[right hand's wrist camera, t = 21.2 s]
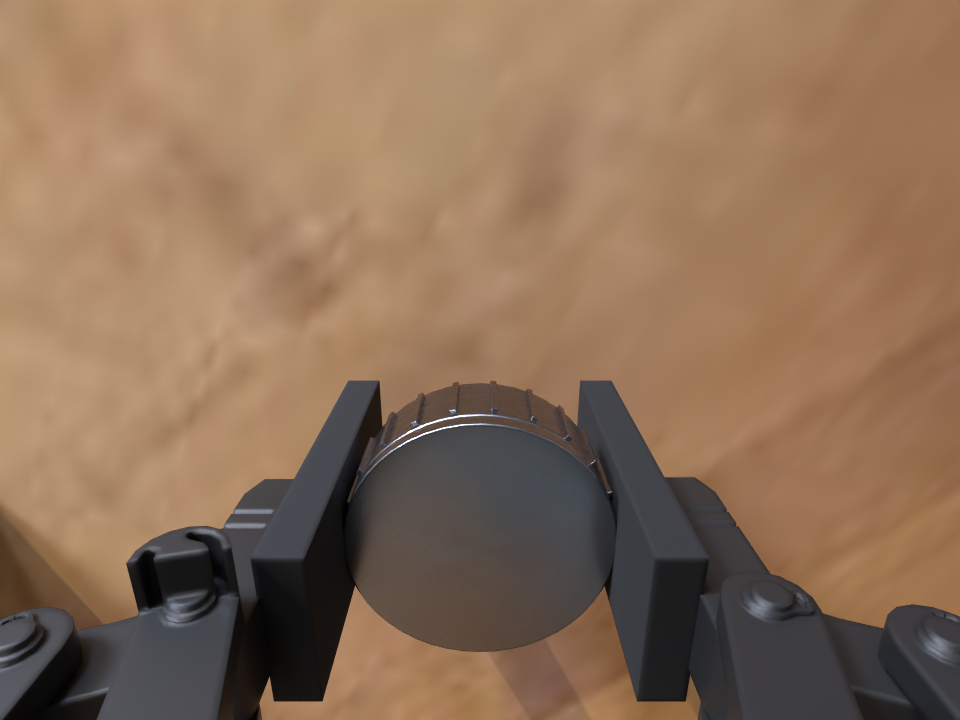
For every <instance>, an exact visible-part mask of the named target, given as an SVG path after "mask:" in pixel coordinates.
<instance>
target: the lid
mask: <svg viewBox="0 0 960 720" xmlns="http://www.w3.org/2000/svg"><path fill="white" fill-rule="evenodd" d="M356 474H357V476H356V479H355V481H354V484H353V487H352V489H351V492H350V495H349V498H348V500H347V507H348V508H347V511H346V514H345V520H344V527H343V537H344V548H345V557H346V563H347V566H348V569H349V572H350V575H351V577H352V579H353V581H354V583H355V585H356V587H357V589H358V591H359V592H360V593H361V595H362V596H363V598H364V599H365V601H366V602H367V603H368V604H369V605H370V606H371V607H372V608H373V609H374V611H375V612H376V613H377V614H379V615H380V616H381V617H382V618H383V619H385V620H386V621H387V622H388V623H390V624H391V625H393V626H394V627H396V628H397V629H399V630H400V631H402V632H404V633H406V634H408V635H410V636H412V637H413V638H415V639H418V640H421V641H423V642H426V643H429V644H431V645H435V646H439V647H443V648H447V649H453V650H459V651H472V652H488V651H500V650H507V649H513V648H517V647H521V646H525V645H529V644H531V643H534V642H537V641H539V640H542V639H544V638H546V637H548V636H550V635H552V634H554V633H556V632H558V631H560V630H561V629H563V628H564V627H566V626H568V625H569V624H571V623H572V622H573V621H574V620H575V619H577V618H578V617H579V616H580V615H581V614H583V613H584V612H585V611H586V609H587V608H588V607H589V606H590V605H591V604H592V603H593V602H594V601H595V599H596V598H597V596H598V595H599V594H600V592H601V591H602V589H603V587H604V585H605V583H606V581H607V580H608V578H609V575H610V572H611V570H612V567H613V563H614V554H615V544H616V532H617V525H616V518H615V514H614V511H613V507H612V504H611V501H610V498H609V497H612V496H613V494H612V491H611V488H610V486H609V483H608V480H607V478H606V475H605V473H604V470H603V467H602V465H601V462H600V459H599V458H596V457H595V455H594V452H593V449H592V447H591V444H590V441H589V438H588V436H587V433H586V431H585V430H584V429H583V430H581V431H580V430H579V428H578V427H577V426H576V425H575V424H574V423H573V422H572V420H571V419H570V418H569V417H568V416H566V415H565V412H564V409H563V408H562V407H561V406H560V405H559V406H558V407H555V406H554V405H552V404H550V403H549V402H547V401H546V400H544V399H542V398H540V397H538V396H536V395H533V392H532V390H530V389H527V390H526V391H523V390H520V389H517V388H513V387H508V386H503V385H498V384H496V381H491V382H490V384H482V383H479V384H463V385H459V383H458V382H456V383H453V386H452V387H447V388H444V389H440V390H437V391H434V392H431V393H429V394H427V395H425V396H424V394H423V393H421V394H419V395H418V397H417V399H416V400H415V401H413V402H411V403H410V404H408V405H406V406H405V407H403V408H402V409H401V410H400V411H399V412H397V413H396V414H395V413H394V412H392V413H391V414H389V417H388V420H387V423H386V424H385V425H384V426H383V427H382V428H381V430H380V431H379V433H378V434H377V436H376V437H375V439H374V438H372V437H371V438H370V439H369V441H368V444H367V447H366V449H365V452H364V455H363V457H362V460H361V463H360V465H359V468H358V471H357V473H356Z"/></svg>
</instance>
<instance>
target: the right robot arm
mask: <svg viewBox="0 0 960 720" xmlns="http://www.w3.org/2000/svg"><path fill="white" fill-rule="evenodd" d="M577 427H578V428H579V430H580V431H581V430H583V429H584V430H585V431H586V433H587V436H588V438H589V441H590V444H591V447H592V449H593V452H594V455H595V457H596V458H599V459H600V462H601V465H602V467H603V470H604V473H605V475H606V478H607V480H608V483H609V486H610V488H611V491H612V494H613V496H612V497H609V498H610V501H611V504H612V507H613V511H614V514H615V518H616V525H617V532H616V544H615V554H614V563H613V567H612V570H611V572H610V575H609V578H608V580H607V581H606V583H605V589H606V592H607V596H608V599H609V603H610V606H611V610H612V614H613V617H614V621H615V624H616V628H617V631H618V635H619V638H620V642H621V646H622V649H623V653H624V656H625V660H626V663H627V667H628V670H629V674H630V677H631V681H632V685H633V688H634V692H635V695H636V699H637V701H686V696H687V690H688V684H689V678H690V675H691V677H692V680H693V682H694V685H695V687H696V690H697V692H698V695H699V697H700V700H701V704H700V710H699V715H698V720H960V617H959V616H957V615H954V614H951V613H949V612H945V611H943V610H940V609H937V608H934V607H927V606H920V605H906V606H900V607H896V608H895V609H894V610H893V611H891V612H890V613H889V614H888V616H887V619H886V622H885V626H884V629H883V628H879V627H874V626H870V625H866V624H861V623H857V622H852V621H848V620H844V619H839V618H836V617H833V616H829V615H826V614H823V613H822V611H821V610H820V608H819V607H818V605H817V604H816V602H815V601H814V599H813V598H812V597H811V596H810V595H809V594H808V593H806V592H805V591H804V590H803V589H801V588H800V587H799V586H798V585H796V584H794V583H792V582H790V581H788V580H786V579H784V578H782V577H780V576H776V575H772V574H770V573H769V571H768V570H767V568H766V567H765V565H764V564H763V562H762V561H761V559H760V558H759V556H758V555H757V553H756V552H755V550H754V549H753V547H752V546H751V544H750V543H749V542H748V540H747V539H746V537H745V536H744V534H743V533H742V531H741V530H740V528H739V527H738V526H736V522H735V521H734V519H733V518H732V516H731V515H730V513H729V512H727V511H726V507H725V506H724V504H723V503H722V501H721V500H720V499H719V497H718V496H717V494H716V493H715V492H714V491H713V490H712V489H710V488H709V487H707V486H706V485H705V484H703V483H702V482H701V481H699V480H698V479H696V478H665V477H664V476H663V474H662V472H661V470H660V468H659V467H658V465H657V463H656V461H655V459H654V457H653V456H652V454H651V452H650V450H649V448H648V447H647V445H646V443H645V441H644V439H643V438H642V436H641V434H640V432H639V430H638V428H637V427H636V425H635V423H634V421H633V419H632V418H631V416H630V414H629V412H628V410H627V409H626V407H625V405H624V403H623V401H622V400H621V398H620V396H619V394H618V392H617V390H616V389H615V387H614V385H613V383H612V381H580V393H579V409H578V424H577ZM381 428H382V414H381V399H380V383H379V381H348V383H347V384H346V386H345V388H344V390H343V392H342V393H341V395H340V397H339V399H338V401H337V402H336V404H335V406H334V408H333V410H332V411H331V413H330V415H329V417H328V419H327V421H326V422H325V424H324V426H323V428H322V430H321V431H320V433H319V435H318V437H317V439H316V440H315V442H314V444H313V446H312V448H311V449H310V451H309V453H308V455H307V457H306V459H305V460H304V462H303V464H302V466H301V468H300V469H299V471H298V473H297V475H296V477H295V478H294V479H265V480H263V481H262V482H261V483H259V484H258V485H256V486H255V487H254V488H252V489H251V490H249V491H248V492H247V493H245V494H244V496H243V497H242V499H241V500H240V502H239V503H238V505H237V506H236V508H235V509H234V511H233V514H231V515H230V517H229V518H228V520H227V521H226V523H225V524H224V528H222V529H217V528H213V527H209V526H195V527H186V528H182V529H178V530H174V531H170V532H167V533H165V534H163V535H161V536H158V537H156V538H154V539H152V540H150V541H149V542H147V543H146V544H145V545H143V546H142V547H140V548H139V549H138V550H136V551H135V553H134V554H133V555H132V557H131V558H130V559H129V560H128V562H127V563H126V564H127V568H128V572H129V576H130V580H131V584H132V587H133V591H134V595H135V599H136V603H137V607H138V611H139V612H138V615H137V616H135V617H132V618H129V619H125V620H122V621H118V622H114V623H109V624H105V625H101V626H96V627H92V628H88V629H83V630H79V631H77V630H76V627H75V624H74V621H73V617H72V616H71V615H69V614H68V613H67V612H66V611H65V610H63V609H57V608H51V607H44V608H37V609H30V610H25V611H22V612H20V613H17V614H13V615H11V616H8V617H5V618H3V619H1V620H0V720H262V716H261V710H260V704H259V702H260V699H261V697H262V694H263V692H264V689H265V687H266V684H267V682H268V679H269V677H270V680H271V686H272V692H273V698H274V701H323V697H324V694H325V690H326V687H327V683H328V680H329V676H330V673H331V669H332V666H333V662H334V658H335V655H336V651H337V648H338V644H339V641H340V637H341V634H342V630H343V626H344V623H345V619H346V616H347V612H348V609H349V605H350V602H351V598H352V595H353V591H354V587H355V583H354V581H353V579H352V577H351V575H350V572H349V569H348V566H347V563H346V557H345V548H344V537H343V527H344V520H345V514H346V511H347V508H348V507H347V500H348V498H349V495H350V492H351V489H352V487H353V484H354V481H355V479H356V476H357V474H356V473H357V471H358V468H359V465H360V463H361V460H362V457H363V455H364V452H365V449H366V447H367V444H368V441H369V439H370V438H371V437H372V438H374V439H375V437H376V436H377V434H378V433H379V431H380V430H381Z"/></svg>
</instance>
